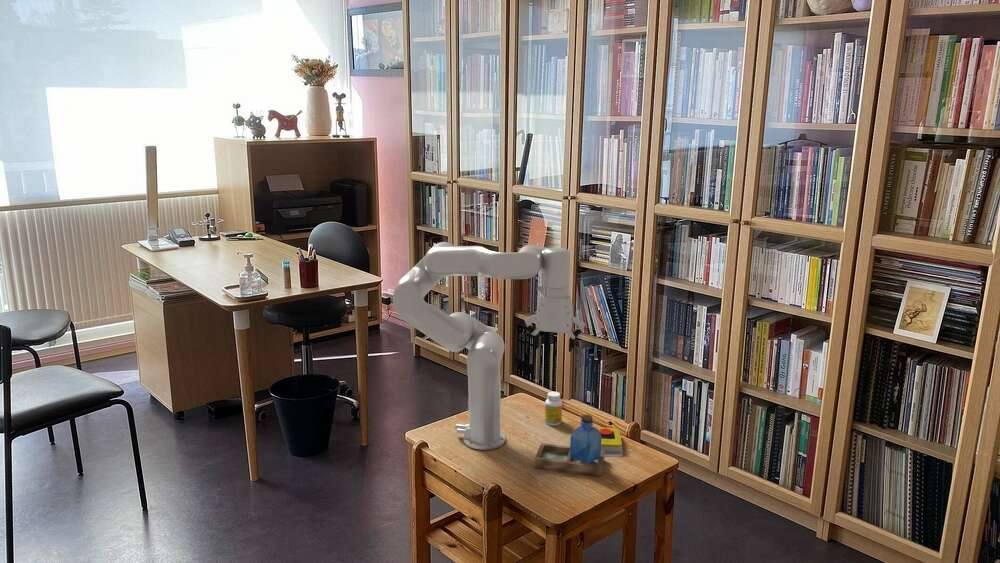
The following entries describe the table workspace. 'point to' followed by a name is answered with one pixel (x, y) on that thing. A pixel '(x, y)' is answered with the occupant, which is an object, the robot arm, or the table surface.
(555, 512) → the table surface
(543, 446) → the organizer
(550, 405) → the supplement bottle
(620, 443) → the emergency button
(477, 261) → the robot arm
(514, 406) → the table surface
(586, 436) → the perfume bottle
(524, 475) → the table surface
